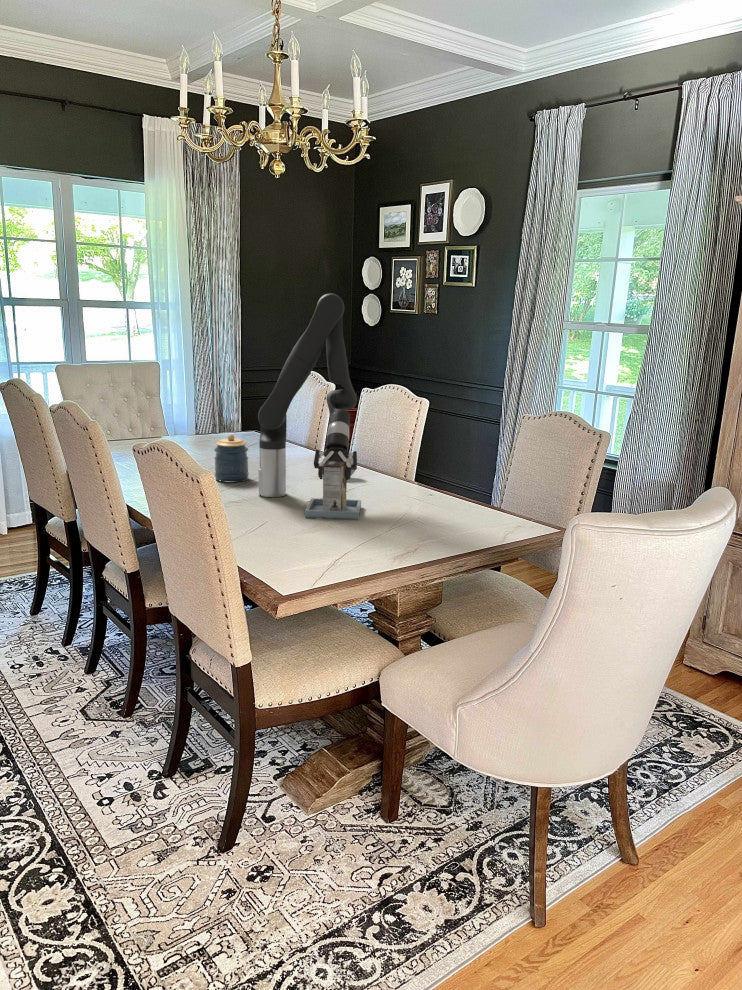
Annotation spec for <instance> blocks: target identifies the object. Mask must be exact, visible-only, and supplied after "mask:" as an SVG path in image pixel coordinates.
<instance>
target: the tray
mask: <svg viewBox="0 0 742 990" xmlns="http://www.w3.org/2000/svg"><path fill="white" fill-rule="evenodd" d="M360 509H362V500H361V499H346V508H345V510H344V511H326V510H323V498H319V497H318V498H313V497H312V498H310V501H309V502H308V504H307V507H306V508H305V510H304V519H316V518H322V519H321V520H324V519H325V520H344V521H345V520H347V521H348V520H349V521H351V520H352V521H358V520H359V517H360V513H361V510H360Z"/></svg>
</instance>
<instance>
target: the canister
mask: <svg viewBox="0 0 742 990" xmlns="http://www.w3.org/2000/svg"><path fill="white" fill-rule="evenodd" d="M215 444H216V445H217V446H216V447H215V448H214V449H213V452H215V456H214V457H213V458H214V477H216V478H215V480H216V481H218V480H221V481H241V482H244V481H243V480H245V481H247V480H249V475H250V474H249V456H248V451H249V448H248V447H246V445H247V442H245V441H244V440H242V439H241V438H235V435H234V434H232V433H230V434H228V436H227V438H221V439H219V441H217V442H216V443H215ZM246 479H247V480H246ZM221 481H220V482H221ZM218 482H219V481H218Z"/></svg>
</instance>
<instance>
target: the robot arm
mask: <svg viewBox="0 0 742 990" xmlns="http://www.w3.org/2000/svg"><path fill="white" fill-rule="evenodd" d="M344 312H345V304H344V301H343V299H342V298H341V297H340V296H339V295H337V294H335V293H330V292H329V293H326V294H323V295H322V296H321V297H319V299H318V301H317V304H316V307H315V309H314V313H313V315H312V317H311V319H310V321H309V324H308V326H307V327H306V329H305V331H304V332H303V333H302V335H301V336H300V337H299V339H298V340H297V342H296V343H295V344H294V346H293V348H292V349H291V351H290V354H289V355H288V357H287V359H286V360H285V363H284V364H283V367H282V369H281V372H280V374H279V376H278V379H277V381H276V383H275V385H274V388H272V389H273V390H272V392H271V393H270V394H269V396H268V398H267V399H266V400H265V402H264V403H263V405H262V406H261V407H260V408H259V410H258V413H257V420H258V422H259V425H260V432H259V445H258V447H259V469H258V471H257V473H258V496H259V497H265V498H280V497H283V496H286V494H287V474H286V473H287V466H286V465H287V459H286V458H287V455H286V454H287V449H286V448H287V427H288V426H287V424H288V423H287V412H288V410H289V408H290V406H291V403H292V401H293V400H294V398H295V396H296V395H297V393H299V391H300V390H301V388H302V387H303V385H304V384H305V382H306V380H308V378H309V376H310V375H311V374H312V371H313V369H314V368H315V366H316V364H317V362H318V359H319V357H320V355H321V353H322V350H323V348H324V345H325V348H326V349H325V350H326V352H325V353H326V365H327V366H326V367H327V373H328V381H329V383H332V384H337V385H340V386H342V387H343V389H334V390H330V391H329V392H328V393H327V395H326V403H327V404H326V405H327V409H328V415H329V421H328V427H327V428H328V429H327V431H326V432H327V433H326V440H325V441H326V443H325V450H324V451H320V450H319V449H316V450H315V454H314V458H313V468H314V469H318V474H317V475H318V478H319V480H323V465H324V464H325V463H327V462H328V461H344V462H347V463H346V466H347V470H346V480H347V481H349V480H350V479H351V477H352V475H351V471H352V470H355V471H356V470H358V455H357V454H358V452H357V451H356V450H353V452H350V451H349V443H350V442H349V441H350V422H351V415H350V413H349V412H348V411H347V410H353V409H355V407H356V405H357V403H358V397H357V395H356V392H355V389H354V387H353V384H352V381H351V378H350V373H349V366H348V365H349V363H348V356H347V350H346V345H345V340H344V339H345V338H344V329H343V328H344V327H343V321H344V319H343V318H344ZM322 457H324V458H323V459H322ZM348 457H351V459H352V460H353V464H352V465H350V463H349V462H348V460H347V458H348ZM320 459H322V460H321V461H320ZM260 495H261V496H260Z"/></svg>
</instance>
